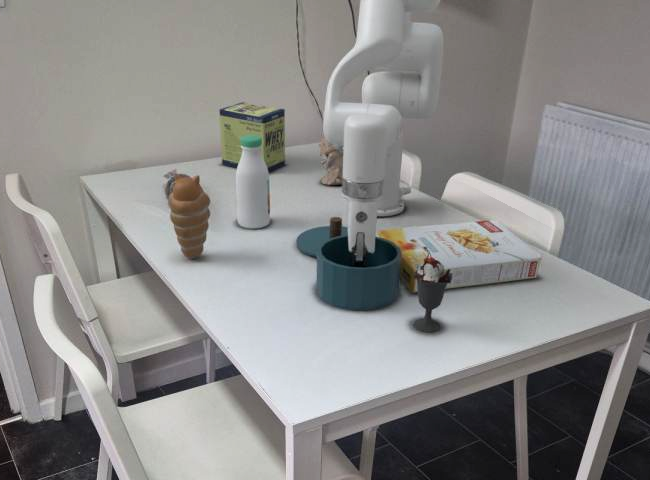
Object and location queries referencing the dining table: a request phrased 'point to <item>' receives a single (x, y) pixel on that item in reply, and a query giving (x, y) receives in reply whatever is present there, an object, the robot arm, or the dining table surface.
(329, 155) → the figurine
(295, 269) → the dining table surface
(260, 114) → the protein box
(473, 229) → the cereal box
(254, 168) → the milk bottle
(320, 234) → the tin lid
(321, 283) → the tin
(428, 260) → the sundae
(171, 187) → the spaceship
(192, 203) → the cat ice cream
